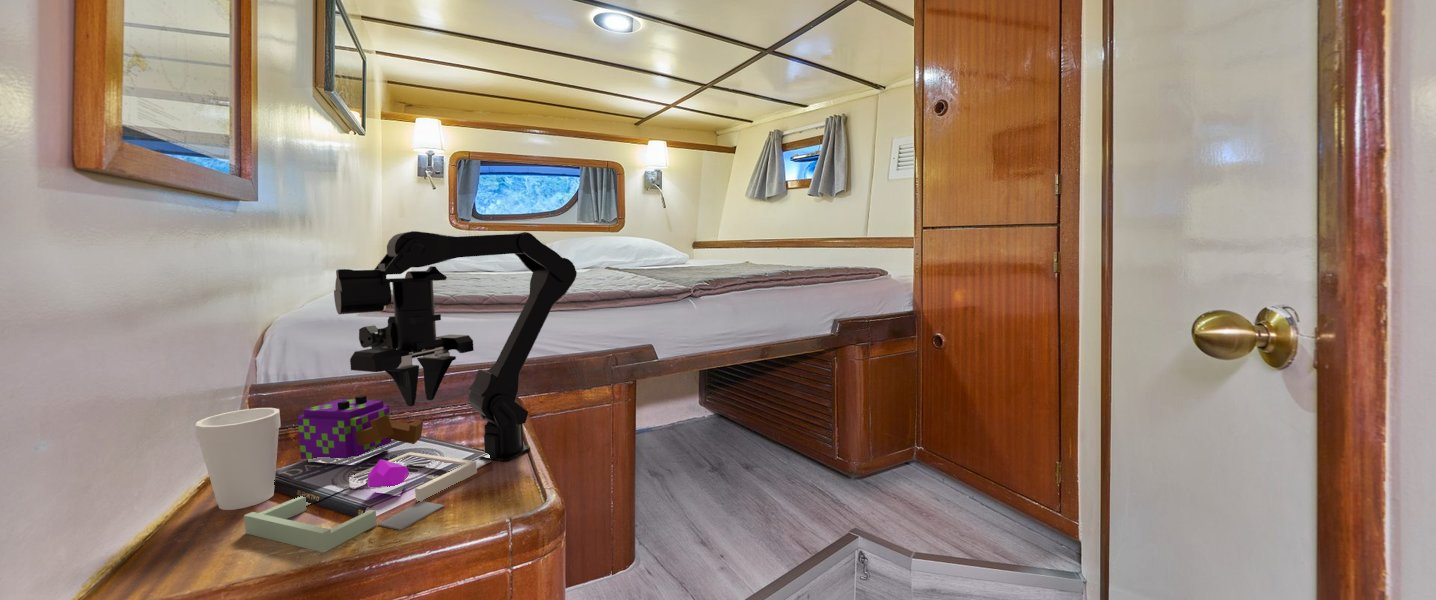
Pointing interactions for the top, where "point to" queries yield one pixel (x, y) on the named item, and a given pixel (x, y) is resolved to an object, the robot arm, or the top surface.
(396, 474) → the crystal
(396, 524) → the mat
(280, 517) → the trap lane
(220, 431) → the foam cup
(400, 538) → the top surface
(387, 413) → the toy
